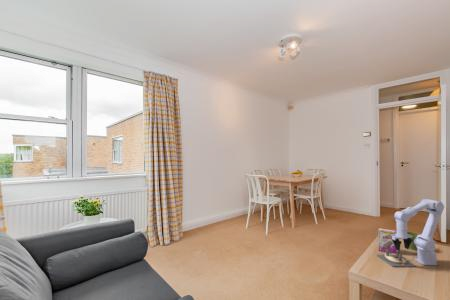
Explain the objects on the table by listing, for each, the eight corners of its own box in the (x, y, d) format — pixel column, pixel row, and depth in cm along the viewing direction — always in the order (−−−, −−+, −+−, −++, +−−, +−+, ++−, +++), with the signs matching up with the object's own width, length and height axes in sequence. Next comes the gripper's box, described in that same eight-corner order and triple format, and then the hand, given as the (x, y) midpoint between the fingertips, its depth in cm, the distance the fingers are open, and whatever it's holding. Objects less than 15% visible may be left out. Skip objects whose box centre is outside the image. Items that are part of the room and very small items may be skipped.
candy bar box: (378, 250, 164) (378, 229, 164) (378, 248, 168) (378, 227, 168) (397, 254, 158) (397, 232, 158) (396, 251, 162) (396, 230, 162)
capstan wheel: (397, 255, 155) (396, 247, 155) (411, 263, 143) (411, 255, 143) (380, 255, 155) (380, 247, 155) (393, 263, 143) (393, 255, 143)
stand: (397, 255, 156) (397, 254, 156) (415, 267, 141) (415, 265, 141) (377, 255, 156) (377, 254, 156) (392, 267, 141) (392, 265, 141)
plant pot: (407, 250, 164) (407, 236, 164) (399, 244, 175) (399, 230, 175) (426, 252, 161) (426, 238, 161) (417, 245, 172) (417, 232, 172)
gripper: (404, 226, 151) (404, 245, 151) (387, 228, 148) (387, 247, 148) (415, 230, 144) (415, 250, 144) (397, 232, 141) (398, 252, 141)
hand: (402, 249), depth 145 cm, fingers open, 7 cm apart
